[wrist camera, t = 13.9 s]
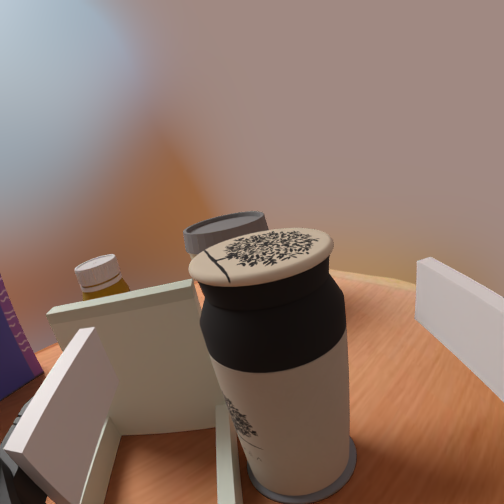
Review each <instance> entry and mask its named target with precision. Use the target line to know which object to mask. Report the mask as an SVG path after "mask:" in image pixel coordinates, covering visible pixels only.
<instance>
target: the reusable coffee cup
mask: <svg viewBox="0 0 504 504" xmlns="http://www.w3.org/2000/svg"><path fill="white" fill-rule="evenodd" d="M267 230H269V229H268V226H267V223H266V220H265V216H264V214H263V213H262V212H257V211H250V212H239V213H234V214H228V215H223V216H218V217H215V218H211V219H208V220H204V221H201V222H199V223H196V224H193V225H191V226H189V227H187V228H186V229H185V230H184V231H183V234H184V241H185V248H186V251H187V252H188V253H189V254H190V256H191V259H192V260H193V258H194V257H196V256H197V255H198V254H199V253H201V252H202V251H204V250H206V249H208V248H209V247H212V246H214V245H216V244H218V243H221V242H224V241H226V240H229V239H232V238H236V237H239V236H243V235H247V234H251V233H256V232H261V231H267ZM200 288H201V287H200ZM201 290H202V289H201ZM202 293H203V292H202ZM203 295H204V294H203Z"/></svg>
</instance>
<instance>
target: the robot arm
mask: <svg viewBox="0 0 504 504" xmlns="http://www.w3.org/2000/svg"><path fill="white" fill-rule="evenodd" d="M415 319H416V320H417V321H418V322H419V323H420V324H421V325H422V326H423V327H425V328H426V329H427V330H428V331H429V332H430V333H431V334H432V335H433V336H435V337H436V338H437V339H438V340H439V341H440V342H441V343H442V344H443V345H444V346H446V347H447V348H448V349H449V350H450V351H451V352H452V353H453V354H454V355H455V356H456V357H457V358H458V359H460V360H461V361H462V362H463V363H464V364H465V365H466V366H467V367H468V368H469V369H470V370H471V371H472V372H473V373H474V374H475V375H476V376H477V377H479V378H480V379H481V380H482V381H483V382H484V383H485V384H486V385H487V386H488V387H489V388H490V389H491V390H492V391H493V392H494V393H495V394H496V395H497V396H498V397H499V398H500V399H501V400H502V401H503V402H504V297H502V296H500V295H498V294H497V293H495V292H493V291H492V290H490V289H488V288H486V287H485V286H483V285H481V284H479V283H478V282H476V281H474V280H472V279H471V278H469V277H467V276H465V275H463V274H462V273H460V272H458V271H456V270H454V269H452V268H450V267H449V266H447V265H445V264H443V263H441V262H439V261H437V260H436V259H434V258H432V257H429V258H426V259H422V260H418V261H417V283H416V304H415ZM118 384H119V379H118V377H117V375H116V373H115V371H114V369H113V367H112V365H111V363H110V361H109V358H108V356H107V354H106V352H105V349H104V347H103V345H102V343H101V340H100V338H99V336H98V333H97V331H96V328H95V327H91V328H84V329H79V330H78V332H77V333H76V335H75V336H74V337H73V339H72V340H71V342H70V343H69V344H68V346H67V347H66V349H65V350H64V352H63V353H62V354H61V356H60V357H59V359H58V360H57V362H56V363H55V365H54V366H53V368H52V369H51V371H50V372H49V374H48V375H47V377H46V378H45V380H44V381H43V383H42V384H41V386H40V388H39V389H38V391H37V392H36V394H35V396H33V397H32V398H31V399H30V400H29V401H28V402H27V403H26V404H25V405H24V406H23V408H22V409H21V411H20V412H19V414H18V417H16V419H15V421H14V422H13V424H14V425H12V426H11V427H10V429H9V431H8V433H7V434H6V436H5V438H4V440H3V441H2V443H1V445H0V504H46V503H45V501H46V498H47V496H48V497H49V498H50V499H51V500H53V501H54V502H55V503H56V504H80V500H81V496H82V493H83V489H84V486H85V482H86V479H87V475H88V472H89V469H90V466H91V462H92V459H93V456H94V453H95V450H96V447H97V444H98V440H99V437H100V434H101V432H102V429H103V426H104V423H105V420H106V417H107V414H108V411H109V408H110V406H111V403H112V400H113V397H114V395H115V392H116V389H117V387H118Z"/></svg>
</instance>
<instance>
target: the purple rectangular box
mask: <svg viewBox="0 0 504 504" xmlns="http://www.w3.org/2000/svg"><path fill="white" fill-rule="evenodd" d="M42 373H44V371H43V369H42V368H41V366H40V364H39V362H38V360H37V358H36V356H35V354H34V352H33V350H32V348H31V347H30V344H29V342H28V340H27V338H26V336H25V334H24V332H23V330H22V328H21V325H20V323H19V321H18V318H17V316H16V314H15V311H14V309H13V307H12V304H11V302H10V299H9V296H8V294H7V292H6V289H5V286H4V283H3V280H2V278H1V275H0V401H1V400H3V399H4V398H6V397H7V396H9V395H10V394H12V393H13V392H15V391H16V390H18V389H20V388H21V387H23V386H24V385H26V384H27V383H29V382H30V381H32V380H33V379H35V378H36V377H38V376H39V375H41V374H42Z"/></svg>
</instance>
